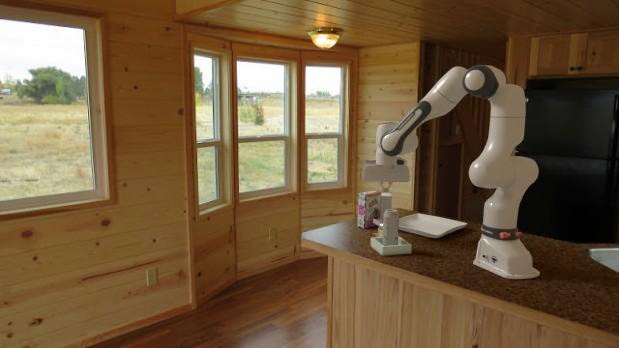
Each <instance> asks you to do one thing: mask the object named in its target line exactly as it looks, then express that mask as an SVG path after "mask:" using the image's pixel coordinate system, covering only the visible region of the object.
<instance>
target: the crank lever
mask: <svg viewBox="0 0 619 348" xmlns="http://www.w3.org/2000/svg"><path fill="white" fill-rule="evenodd" d="M372 211H373V223H375V224H376V225H377V227H378V228H380V229H383V220H380V219H379V218H378V212H379V209H372Z"/></svg>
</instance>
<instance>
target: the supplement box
mask: <svg viewBox="0 0 619 348" xmlns="http://www.w3.org/2000/svg"><path fill="white" fill-rule="evenodd" d="M392 198H393V196H392V194H391V193H390V192H381V211H380V220H382V221H383V219H384V213H385V210H386V209H392V202H393V200H392Z"/></svg>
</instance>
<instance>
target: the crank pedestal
mask: <svg viewBox="0 0 619 348" xmlns="http://www.w3.org/2000/svg"><path fill="white" fill-rule="evenodd" d="M373 234H374V235H373ZM372 235H373V236H374V237H383V229H380V228H379V227H378V228H377V232H373V233H372Z"/></svg>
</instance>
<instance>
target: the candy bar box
mask: <svg viewBox="0 0 619 348" xmlns="http://www.w3.org/2000/svg"><path fill="white" fill-rule="evenodd" d="M381 193H382V192H381V191H378V190H370V191H364V192H358V196H357V197H358V199H357V222H356V223H357V224H356V227H358V228H360V229H363V230H365V229H369V228H374V227H378V225H376V224H375V223H373V211H372V209H379V212H378V218H379V219H380V211H381Z"/></svg>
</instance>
